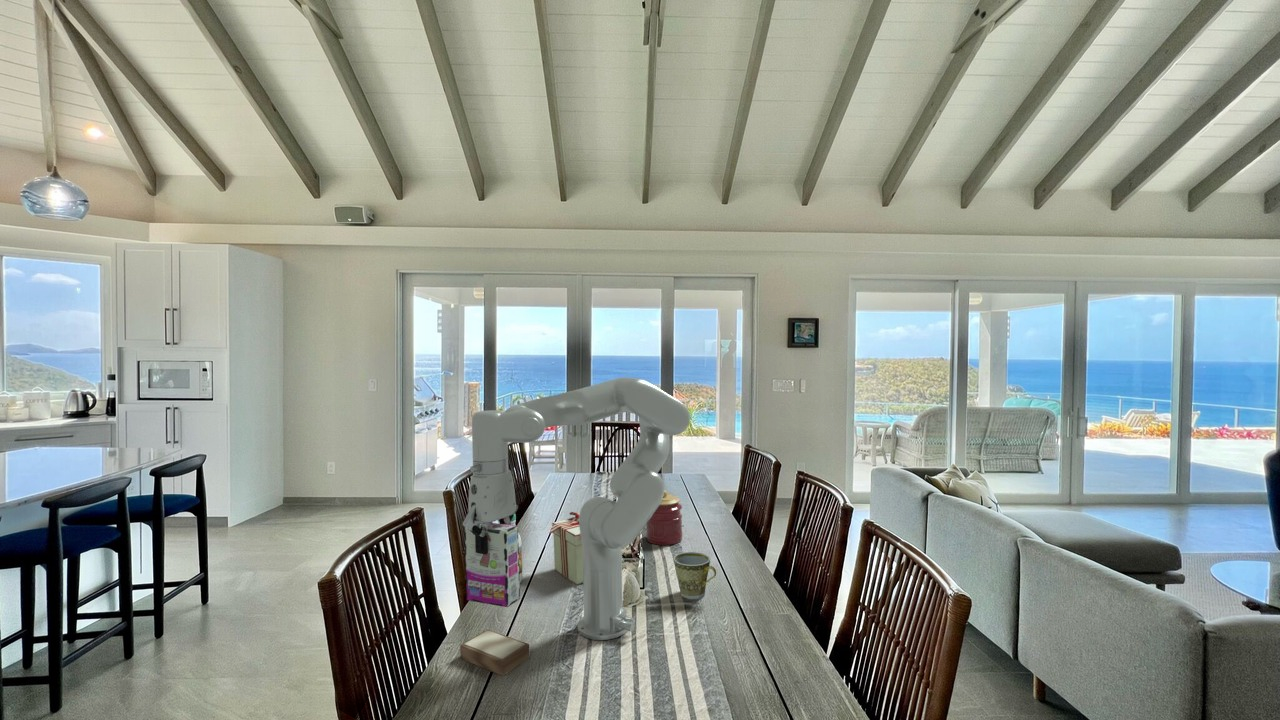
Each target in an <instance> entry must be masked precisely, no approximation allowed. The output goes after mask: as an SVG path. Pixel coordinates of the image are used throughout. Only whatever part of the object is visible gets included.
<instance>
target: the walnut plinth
mask: <svg viewBox="0 0 1280 720" xmlns="http://www.w3.org/2000/svg"><path fill="white" fill-rule="evenodd" d="M459 650H460V659H461V660H463V661H466V662H468V663H471V664H473V665H476V666H477V667H480V668H483V669H485V670H487V671H490V672H492V673H494V674H498V675H500V676H502V677H504V675H506V674H507V673H509V672H511V671H512V670H513V669H515V668H516V667H518V666H519V665H521V664H522V663H524V662H525V661H527V660H528V659H529V658H530V644H529V643H527V642H524V641H521V640H519V639H516V638H515V637H511V636H507V635H505V634H502V633H499V632H497V631H495V630H490V629H489V628H488V629H486V630H484V631H482V632H480V633H479V634H477V635H475V636H473V637H472V638H470V639H468V640H467V641H465V642H463V643H462V644H460V647H459Z"/></svg>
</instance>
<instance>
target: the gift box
mask: <svg viewBox="0 0 1280 720" xmlns="http://www.w3.org/2000/svg"><path fill="white" fill-rule="evenodd" d="M568 514H569V515H570V516H572V517H570V518H567V519H563V520H558V521H555V522H554V521H553V522H551V527H550V530H549V534H553V553H554V554H553V557H554V559H553V560H554V571H557V573H559V574H561V575H562V576H563V577H565V578H567V579H568V580H569V581H570V582H572V583H574V584H575V585H580V584H583V551H582V540H581V534H580V528H579V515H580V512H574V511H571V512H569V513H568Z"/></svg>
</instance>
